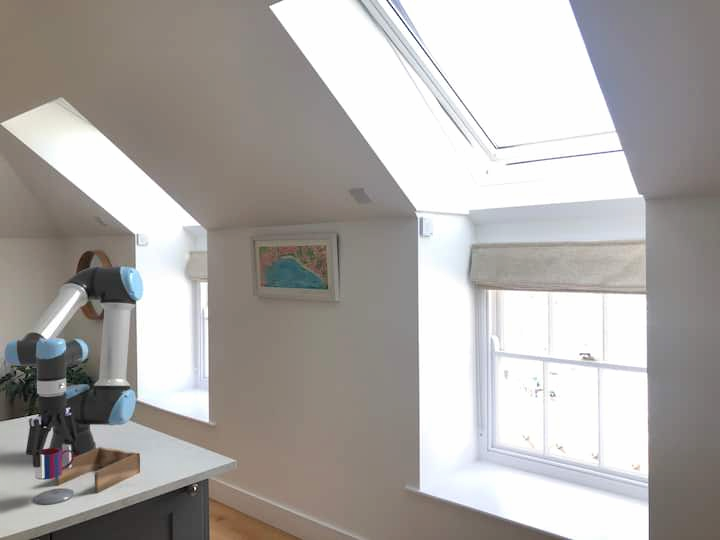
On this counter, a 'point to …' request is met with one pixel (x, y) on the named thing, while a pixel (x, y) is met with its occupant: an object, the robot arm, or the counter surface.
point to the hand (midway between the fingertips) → (53, 472)
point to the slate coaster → (54, 496)
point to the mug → (54, 462)
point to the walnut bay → (112, 460)
